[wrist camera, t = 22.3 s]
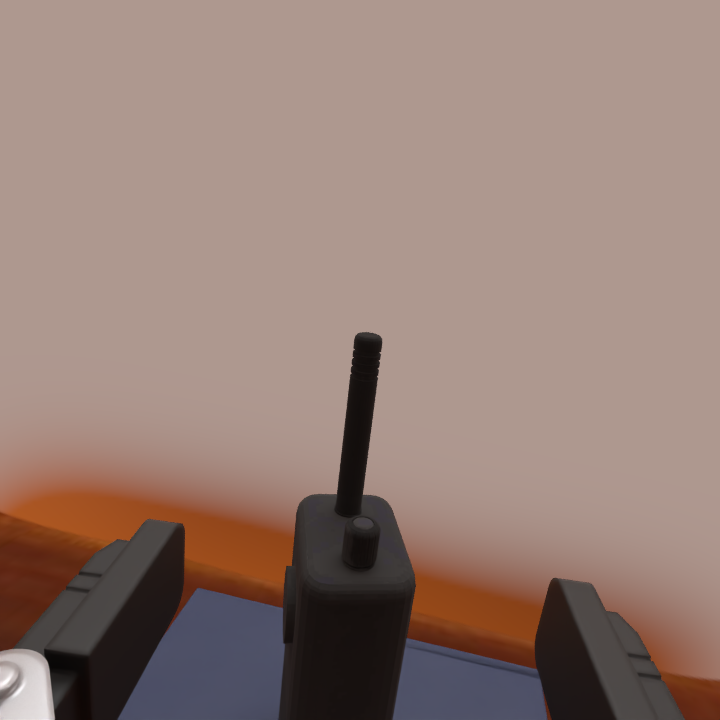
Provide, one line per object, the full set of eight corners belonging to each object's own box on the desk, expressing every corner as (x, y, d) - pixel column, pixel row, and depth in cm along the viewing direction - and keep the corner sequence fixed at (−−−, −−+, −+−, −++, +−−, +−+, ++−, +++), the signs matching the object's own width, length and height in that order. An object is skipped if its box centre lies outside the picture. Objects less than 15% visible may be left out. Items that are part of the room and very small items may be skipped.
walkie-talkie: (380, 832, 17) (461, 379, 12) (270, 842, 16) (312, 371, 12) (358, 692, 21) (411, 326, 17) (272, 696, 21) (303, 318, 16)
